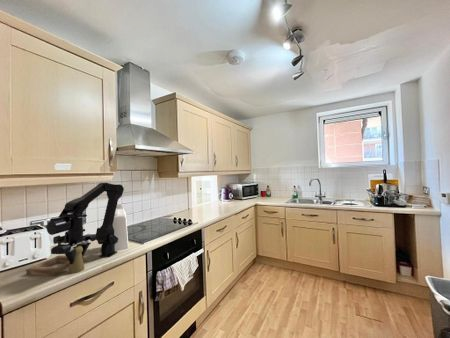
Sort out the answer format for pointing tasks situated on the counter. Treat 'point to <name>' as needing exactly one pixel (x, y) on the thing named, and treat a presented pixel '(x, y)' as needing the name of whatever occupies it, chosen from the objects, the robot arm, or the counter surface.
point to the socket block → (44, 267)
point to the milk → (120, 228)
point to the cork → (77, 261)
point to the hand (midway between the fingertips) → (76, 261)
